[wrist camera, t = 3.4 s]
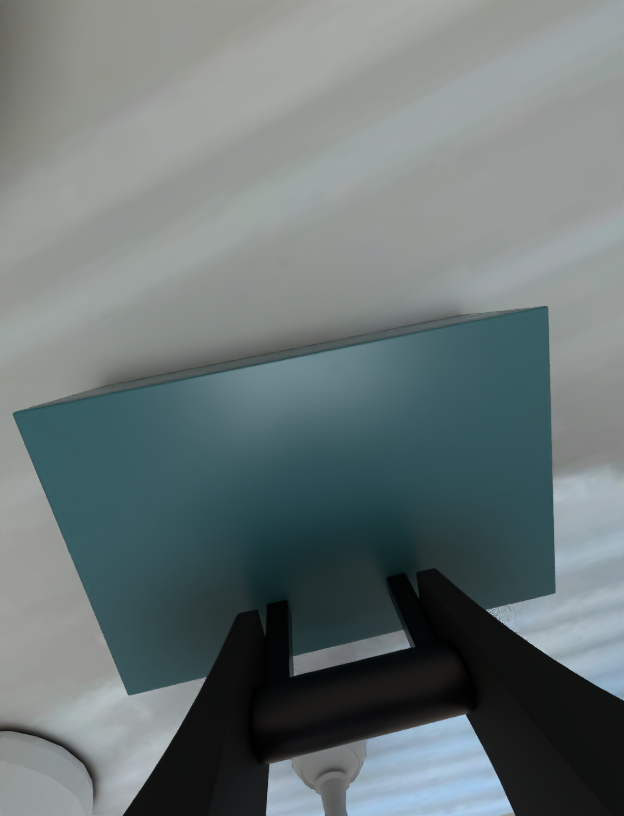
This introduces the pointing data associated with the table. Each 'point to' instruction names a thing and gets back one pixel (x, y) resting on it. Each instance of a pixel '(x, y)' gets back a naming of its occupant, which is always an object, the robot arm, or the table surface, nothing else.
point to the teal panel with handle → (312, 516)
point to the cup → (41, 779)
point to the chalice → (331, 773)
